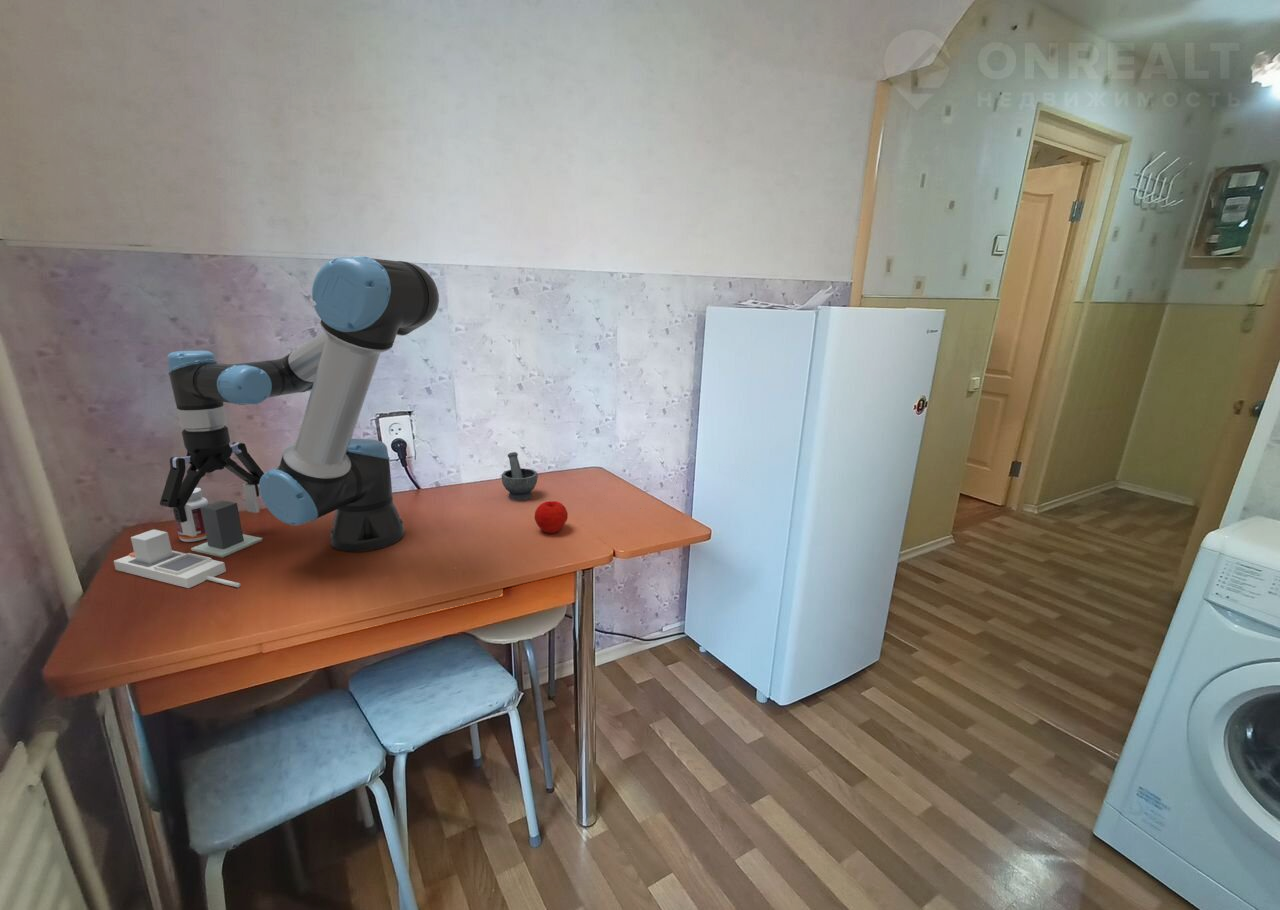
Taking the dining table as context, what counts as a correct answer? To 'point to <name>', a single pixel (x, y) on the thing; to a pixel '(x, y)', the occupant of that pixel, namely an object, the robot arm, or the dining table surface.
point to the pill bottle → (194, 517)
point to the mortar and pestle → (519, 479)
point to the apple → (551, 516)
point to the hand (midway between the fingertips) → (223, 522)
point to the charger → (222, 524)
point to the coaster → (224, 552)
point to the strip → (169, 562)
